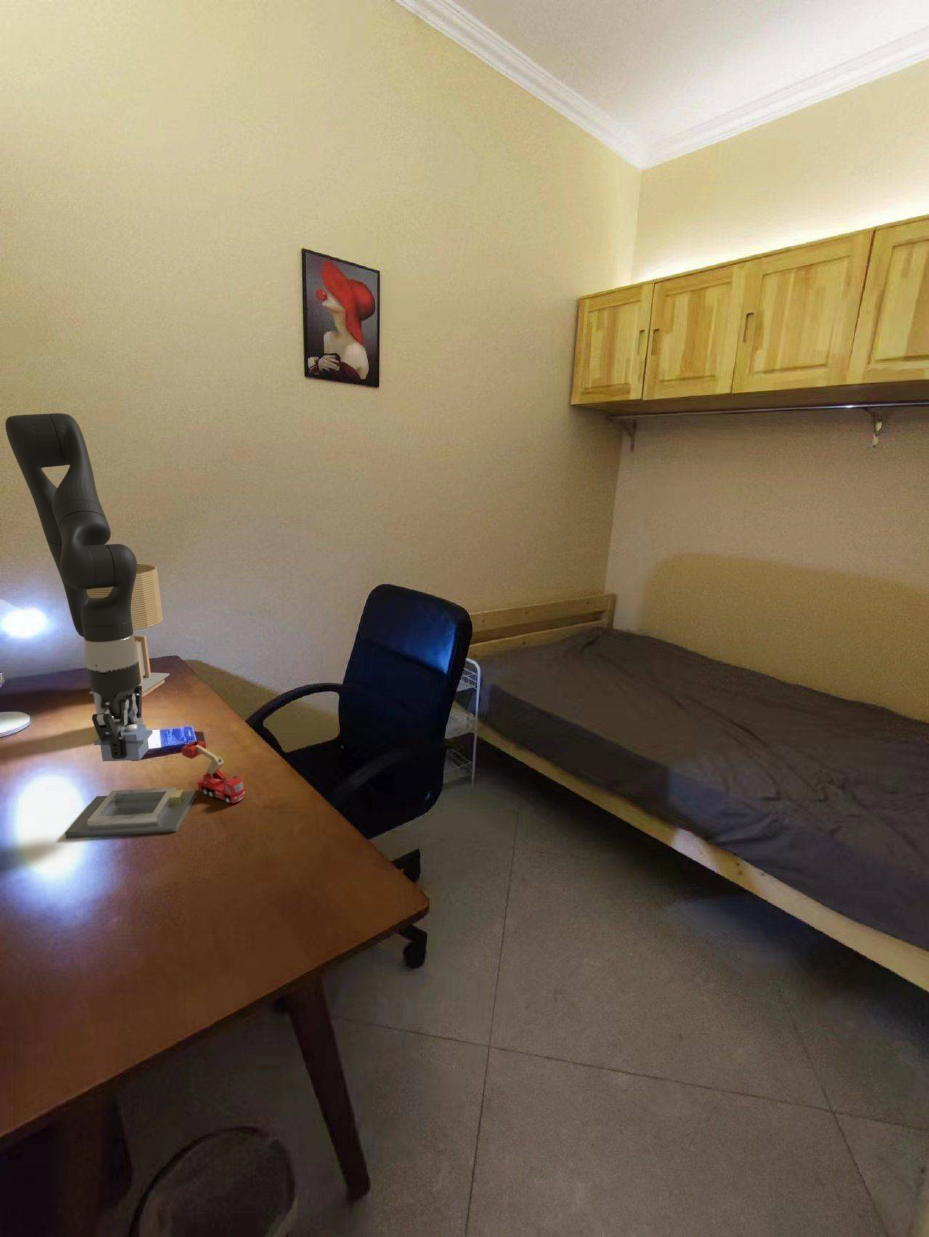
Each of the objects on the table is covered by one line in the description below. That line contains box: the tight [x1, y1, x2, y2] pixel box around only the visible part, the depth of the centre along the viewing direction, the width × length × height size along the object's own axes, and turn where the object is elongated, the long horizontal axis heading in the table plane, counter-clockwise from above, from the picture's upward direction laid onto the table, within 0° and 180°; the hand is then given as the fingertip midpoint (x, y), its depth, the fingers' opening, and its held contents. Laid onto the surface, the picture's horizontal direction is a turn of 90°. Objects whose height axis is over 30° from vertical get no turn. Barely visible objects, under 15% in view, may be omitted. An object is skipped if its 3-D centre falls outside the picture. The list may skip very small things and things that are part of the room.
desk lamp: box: [87, 563, 170, 698], centre depth 152 cm, size 20×20×35 cm
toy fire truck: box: [181, 740, 246, 804], centre depth 108 cm, size 3×14×10 cm, turn 65°
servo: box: [93, 723, 153, 763], centre depth 97 cm, size 4×8×6 cm, turn 99°
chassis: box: [64, 787, 197, 840], centre depth 100 cm, size 11×18×3 cm, turn 99°
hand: (125, 751), depth 97 cm, fingers closed on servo, 4 cm apart
